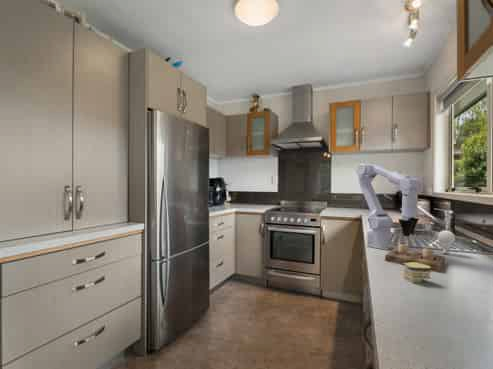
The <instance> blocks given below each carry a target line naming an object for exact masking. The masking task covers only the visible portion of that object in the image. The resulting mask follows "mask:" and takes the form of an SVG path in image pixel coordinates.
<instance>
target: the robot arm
mask: <svg viewBox="0 0 493 369" xmlns="http://www.w3.org/2000/svg"><path fill="white" fill-rule="evenodd" d="M355 173H356V175H357V177H358V183H359V187H360V189H361V191H362V194H363V197H364V199H365V201H366V203H367V206H368V209H369V210H370V211H369V212H370V214H369V215H368V218H369V219H368V220H369V226H370V227H371V228H368V230H367V237H366V238H367V239H366V240H367V241H366V247H370V248H373V249H375V248H376V249H381V250H386V251H388V250H389V249H391V248H392V246H391V245H390V231H391V229H392V227H393V226H394V221H393V220H394V219H393V218H392V217H391V216H390V215H389V213H388V212H387V211H385V209H383V207H382V205H381V203H380V200H379V198H378V196H377V194H376V192H375V190H374V186H373V184H372V182H373V181H374V179H376V177H377V176H378V175H379V176H382V177H384V178H387V179H388V182H390V183H391V184H393V185H395V186H398V187H399V189H401V194H402V196H401V197H402V199H401V202H402V203H401V214H400V216H402V218H399V219H398V223H399V224H400V226H401V230H402V231H401V232H402V235H403V237H410V236H411V235H414V233H415V231H416V226H417V223H418V222H419V221H420V219H419V218H420V217H421V215H419V214H418V198H419V197H418V196H419V194H418V193H419V190H420V188H421V187H422V182H421V180H420V179H419V178H418V177H411V175H408V174H405V173H402V171H400V170H395V171H391V170H388V169H386V168H385V167H384V166H381V165H379V164H375V163H373V164H372V163H359V164H358V166H357V168H356V171H355Z"/></svg>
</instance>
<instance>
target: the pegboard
mask: <svg viewBox="0 0 493 369" xmlns="http://www.w3.org/2000/svg"><path fill="white" fill-rule="evenodd" d="M445 260H446V259H445V256H443V255H438V254H434V261H432V260H427V259H423V252H420V251H415V250H409V249H408V255H407V256H406V255H401V254H398V247H394V248H393V249H391V250H390V251H388V253H386V254H385V255H384V261H385V262H387V263H388V262H389V263H392V264H393V263H394V264H398V265H403V266H406V267H408V265H405V264H403V263H410V262H416V263H421V264H424V265H428V266H430V267H431V268H425V269H428V270H430V271H431V272H435V273H441V270H442V268H443V267H444V265H445Z"/></svg>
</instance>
